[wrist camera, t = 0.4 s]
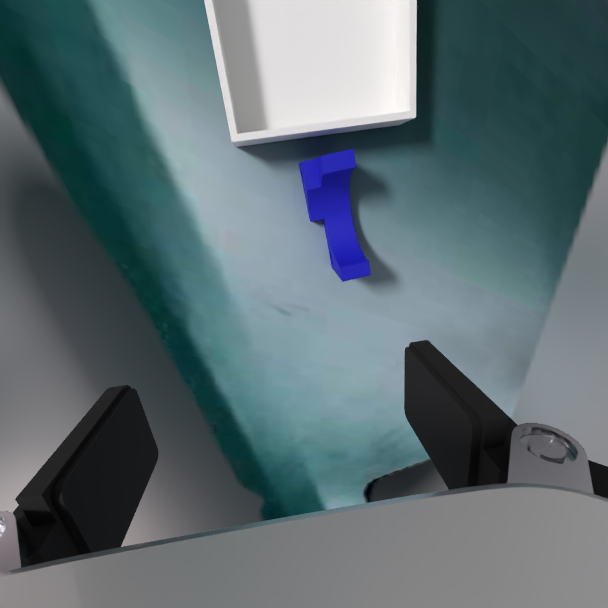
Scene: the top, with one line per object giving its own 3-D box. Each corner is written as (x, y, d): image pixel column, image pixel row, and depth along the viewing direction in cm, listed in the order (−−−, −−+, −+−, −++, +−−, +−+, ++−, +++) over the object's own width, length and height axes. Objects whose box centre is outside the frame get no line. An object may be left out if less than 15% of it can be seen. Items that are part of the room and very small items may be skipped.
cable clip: (298, 163, 33) (304, 159, 27) (339, 154, 33) (353, 148, 27) (319, 269, 37) (328, 284, 32) (355, 261, 37) (370, 274, 32)
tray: (193, -77, 25) (180, -121, 22) (396, -97, 26) (417, -143, 22) (236, 147, 32) (231, 142, 28) (399, 125, 32) (415, 117, 29)
